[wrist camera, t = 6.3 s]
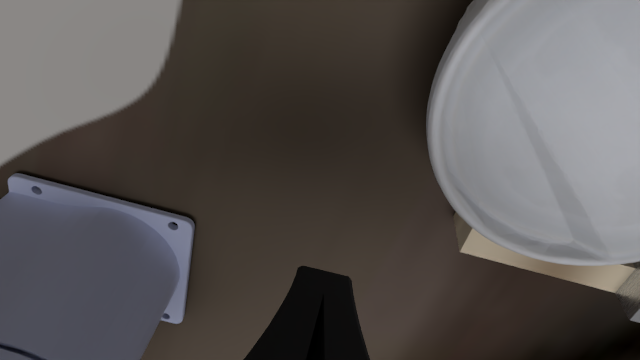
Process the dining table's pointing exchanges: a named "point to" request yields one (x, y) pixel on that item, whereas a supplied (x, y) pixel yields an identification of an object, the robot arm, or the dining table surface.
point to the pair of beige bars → (540, 261)
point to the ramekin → (543, 127)
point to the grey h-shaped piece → (631, 294)
